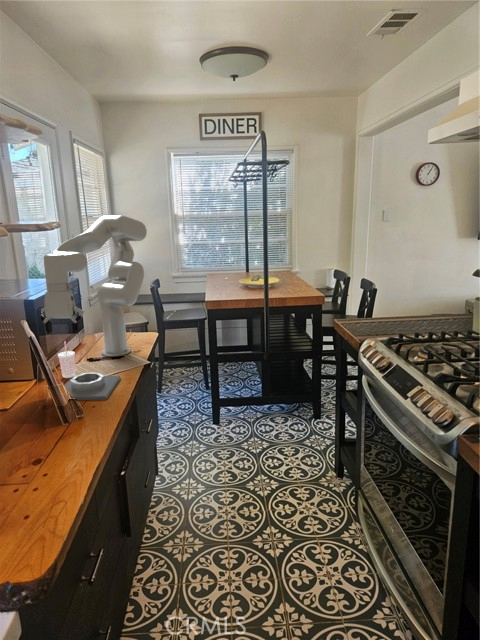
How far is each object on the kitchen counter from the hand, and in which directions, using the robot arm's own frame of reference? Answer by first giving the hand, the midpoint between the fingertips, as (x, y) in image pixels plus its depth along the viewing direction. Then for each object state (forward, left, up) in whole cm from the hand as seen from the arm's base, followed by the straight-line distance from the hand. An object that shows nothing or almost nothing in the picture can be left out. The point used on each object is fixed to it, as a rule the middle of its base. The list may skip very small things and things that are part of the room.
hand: (62, 332), depth 154 cm
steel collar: (+12, +12, -16) cm, 24 cm away
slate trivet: (+12, +12, -18) cm, 25 cm away
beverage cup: (-1, 0, -18) cm, 18 cm away
